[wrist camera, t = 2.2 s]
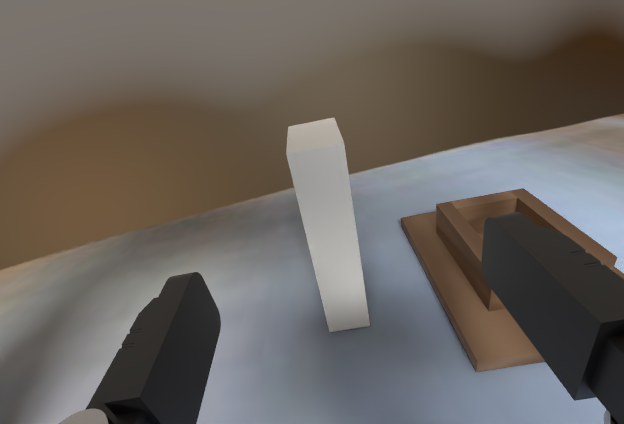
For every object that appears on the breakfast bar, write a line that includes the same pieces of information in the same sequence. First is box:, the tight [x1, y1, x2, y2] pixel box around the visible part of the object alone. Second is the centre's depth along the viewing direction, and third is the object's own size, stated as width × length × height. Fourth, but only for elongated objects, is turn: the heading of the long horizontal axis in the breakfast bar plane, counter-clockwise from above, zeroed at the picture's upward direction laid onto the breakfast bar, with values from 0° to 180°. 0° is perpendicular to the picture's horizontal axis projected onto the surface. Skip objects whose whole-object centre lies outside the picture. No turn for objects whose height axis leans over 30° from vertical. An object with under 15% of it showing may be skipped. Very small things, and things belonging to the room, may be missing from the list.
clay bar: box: [286, 118, 370, 332], centre depth 22 cm, size 3×5×14 cm, turn 3°
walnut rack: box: [401, 188, 624, 372], centre depth 25 cm, size 12×16×4 cm
